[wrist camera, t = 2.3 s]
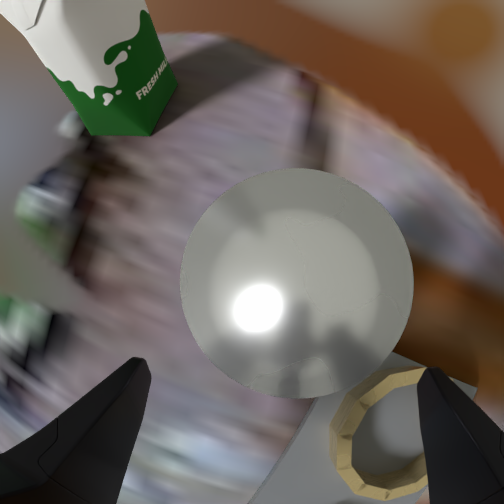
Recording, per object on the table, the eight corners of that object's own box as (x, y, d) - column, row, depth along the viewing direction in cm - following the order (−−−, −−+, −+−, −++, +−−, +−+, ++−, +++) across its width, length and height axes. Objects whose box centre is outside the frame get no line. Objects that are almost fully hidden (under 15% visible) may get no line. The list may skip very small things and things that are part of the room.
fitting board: (339, 578, 11) (341, 584, 10) (214, 544, 13) (211, 551, 12) (470, 387, 16) (477, 388, 15) (347, 333, 18) (351, 333, 17)
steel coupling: (301, 374, 17) (354, 434, 5) (230, 338, 18) (140, 324, 6) (336, 302, 18) (436, 224, 6) (266, 269, 19) (248, 140, 7)
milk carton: (155, 145, 23) (48, -64, 4) (80, 143, 25) (-30, -3, 6) (190, 78, 26) (135, -98, 7) (118, 82, 27) (47, -57, 8)
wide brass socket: (406, 492, 13) (420, 507, 11) (304, 463, 15) (308, 480, 12) (462, 388, 15) (483, 391, 12) (368, 348, 16) (382, 348, 14)
